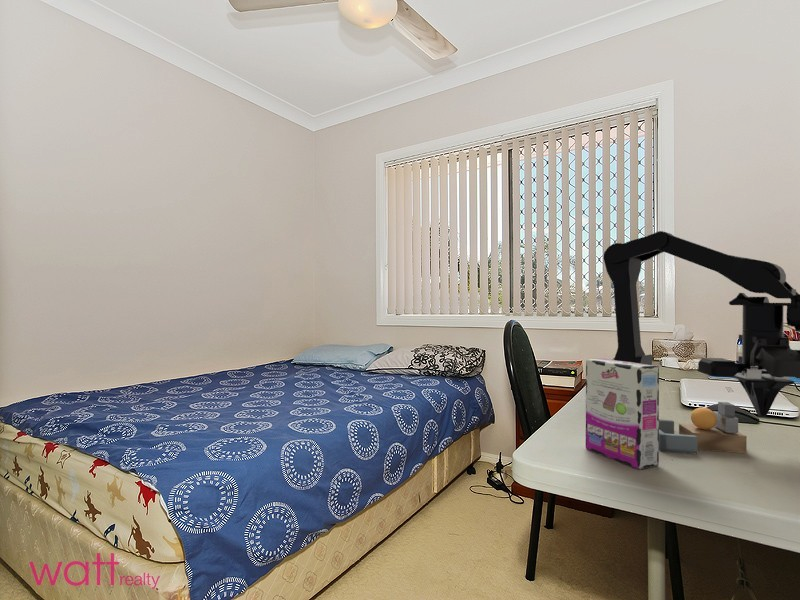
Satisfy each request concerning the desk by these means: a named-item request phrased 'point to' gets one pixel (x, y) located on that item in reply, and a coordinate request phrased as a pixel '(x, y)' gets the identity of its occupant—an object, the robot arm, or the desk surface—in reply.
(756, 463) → the desk surface
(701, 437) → the tan block
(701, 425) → the ball
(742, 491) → the desk surface
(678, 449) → the tray
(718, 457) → the desk surface
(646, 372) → the candy bar box
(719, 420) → the gray zigzag block
